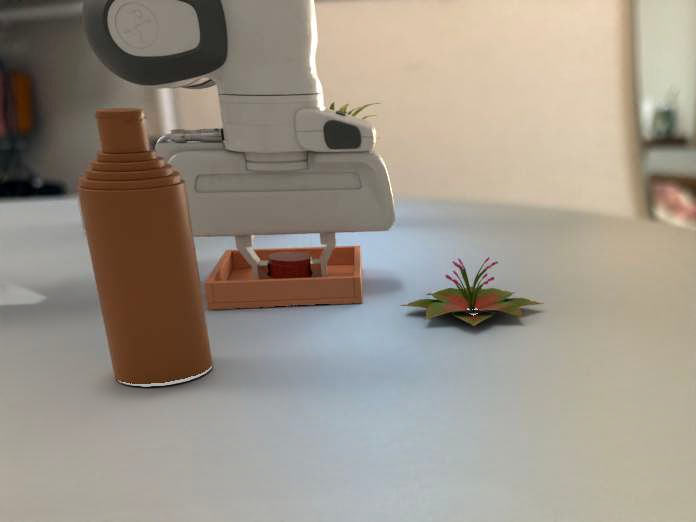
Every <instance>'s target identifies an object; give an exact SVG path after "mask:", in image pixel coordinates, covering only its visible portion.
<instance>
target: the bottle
mask: <svg viewBox="0 0 696 522" xmlns="http://www.w3.org/2000/svg"><path fill="white" fill-rule="evenodd" d="M146 113H147V112H146V110H144V108H133V107H132V108H131V107H126V108H125V107H120V108H117V107H115V108H114V107H113V108H100V109H95V110H94V114H93V117H94V118H95V120H96V126H97V132H98V137H99V143H100V148H101V150H98V151H96V153H95V156H96V158H93V159H91V160H90V166H88V167H86V168H85V169H84V174H83V175H81V176H79V177H78V181H79V184H77V186H76V190H77V194H78V199H79V200H80V205H81V210H82V215H83V220H84V225H85V230H84V231H85V235H86V240H87V246H88V250H89V255H90V261H91V266H92V271H93V276H94V280H95V285H96V290H97V296H98V301H99V305H100V309H101V310H100V311H101V315H102V320H103V325H104V330H105V335H106V340H107V341H106V342H107V346H108V350H109V355H110V360H111V366H112V370H113V375H114V379H115V378H116V379H117V380H119V381H121V382H126V383H130V384H131V383H132V384H151V383H165V382H170V381H175V380H180V379H185V378H188V377H191V376H196V375H198V374H201V373H203V372H205V371H206V370H208V369H209V368H210V367H211V366H212V364H213V357H212V351H211V344H210V337H209V332H208V325H207V324H208V323H207V319H206V312H205V306H204V305H205V304H204V299H203V291H202V285H201V278H200V271H199V265H198V258H197V251H196V245H195V237H193V231H192V224H191V218H190V211H189V204H188V198H187V191H186V184H185V181H184V180H182V179H181V174H180V173H179V172H177V171H173V166H172V165H170V164H165V159H164V158H163V157H160V156H157V152H156V150H155V148H151V146H150V139H149V133H148V128H147V122H146V120H148V119H147V116H145V115H146ZM212 367H213V366H212ZM116 379H115V380H116ZM117 380H116V381H117Z"/></svg>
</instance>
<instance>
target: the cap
mask: <svg viewBox="0 0 696 522" xmlns="http://www.w3.org/2000/svg"><path fill="white" fill-rule="evenodd" d="M311 261H312V255H310V254H308V253H304V252H295V251H285V252H276V253H272V254H270V255H269V256H268V265H269V272H268V273H269V274H270V277H271V278H272V279H288V278H311V273H312V271H311V268H310V262H311Z"/></svg>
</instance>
